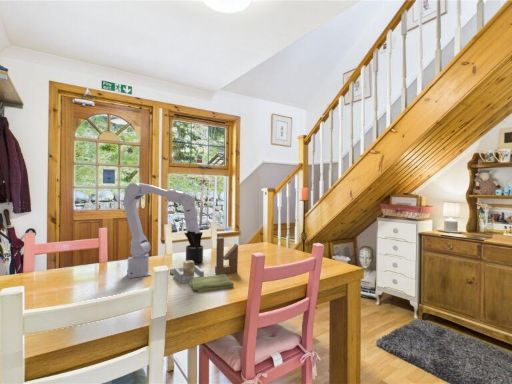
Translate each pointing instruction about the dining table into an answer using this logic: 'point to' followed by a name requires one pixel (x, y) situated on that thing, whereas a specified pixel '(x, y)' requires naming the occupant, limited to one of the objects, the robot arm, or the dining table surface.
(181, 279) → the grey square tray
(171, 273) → the pad
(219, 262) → the brown angular piece
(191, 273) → the block
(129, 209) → the robot arm
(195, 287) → the washcloth
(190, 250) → the mug
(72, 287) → the dining table surface
